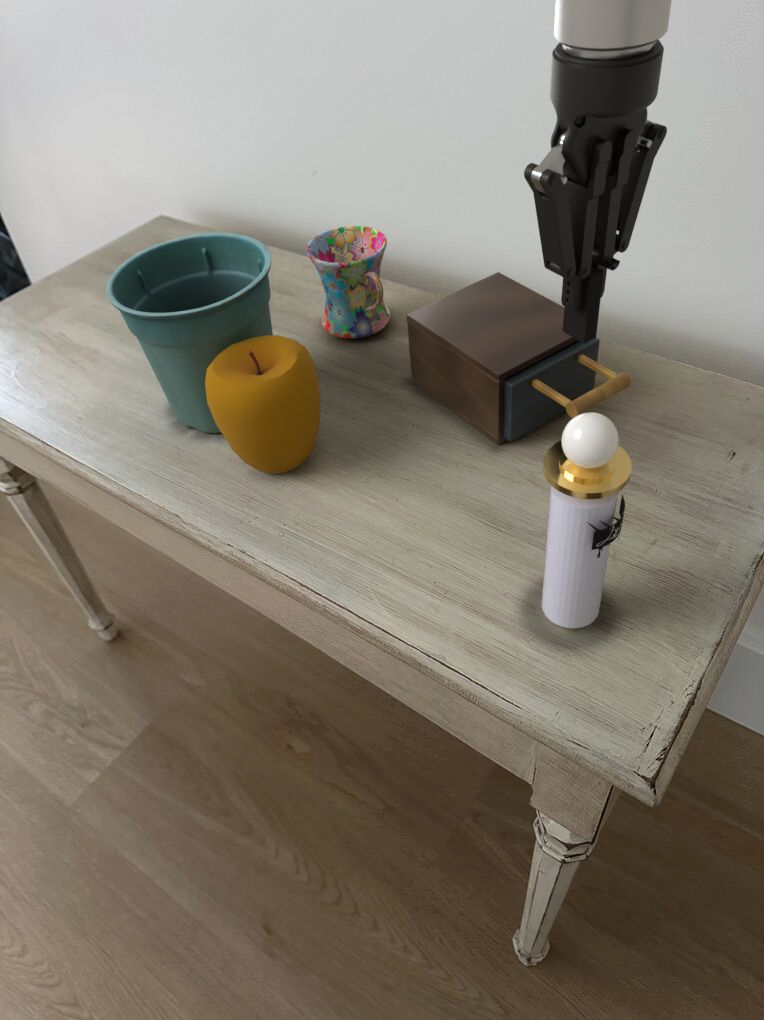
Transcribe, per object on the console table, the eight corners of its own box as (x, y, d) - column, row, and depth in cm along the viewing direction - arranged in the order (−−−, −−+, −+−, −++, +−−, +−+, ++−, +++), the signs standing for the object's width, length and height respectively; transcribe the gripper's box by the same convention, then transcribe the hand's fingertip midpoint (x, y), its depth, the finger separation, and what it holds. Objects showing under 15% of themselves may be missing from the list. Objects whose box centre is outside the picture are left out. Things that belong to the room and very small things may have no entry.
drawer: (639, 423, 79) (649, 366, 74) (555, 474, 75) (559, 417, 70) (506, 342, 91) (508, 288, 86) (428, 382, 87) (424, 328, 82)
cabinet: (588, 394, 84) (596, 324, 78) (498, 445, 80) (498, 375, 74) (497, 338, 93) (498, 271, 87) (411, 381, 89) (406, 314, 83)
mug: (307, 321, 100) (292, 242, 92) (370, 296, 102) (361, 217, 95) (353, 365, 92) (341, 282, 84) (420, 337, 95) (414, 254, 87)
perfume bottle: (520, 619, 64) (529, 428, 50) (555, 573, 67) (572, 381, 53) (585, 652, 61) (614, 459, 47) (618, 603, 64) (654, 408, 50)
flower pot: (126, 437, 86) (72, 306, 75) (196, 352, 97) (157, 227, 86) (262, 457, 82) (226, 322, 70) (319, 366, 92) (296, 235, 81)
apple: (273, 410, 87) (249, 306, 78) (352, 440, 82) (336, 333, 73) (205, 469, 81) (170, 364, 72) (286, 505, 76) (259, 397, 67)
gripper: (633, 9, 59) (600, 292, 76) (500, 55, 55) (496, 345, 71) (716, 27, 55) (661, 323, 71) (578, 78, 50) (555, 382, 67)
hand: (579, 334), depth 71 cm, fingers closed
